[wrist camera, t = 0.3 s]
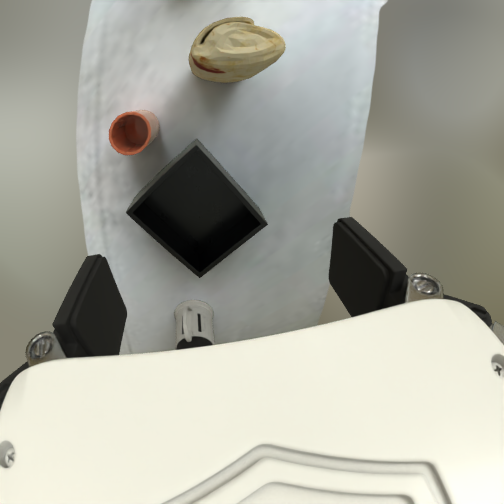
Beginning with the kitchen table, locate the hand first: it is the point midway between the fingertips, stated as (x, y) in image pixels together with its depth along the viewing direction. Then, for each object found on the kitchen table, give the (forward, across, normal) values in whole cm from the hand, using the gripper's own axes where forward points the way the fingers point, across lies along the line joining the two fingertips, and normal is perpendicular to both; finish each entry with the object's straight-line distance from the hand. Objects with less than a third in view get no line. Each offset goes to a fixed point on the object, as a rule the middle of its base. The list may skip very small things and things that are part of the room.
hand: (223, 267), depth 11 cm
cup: (+36, +10, -4) cm, 38 cm away
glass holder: (+37, +8, +33) cm, 50 cm away
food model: (+36, -4, -12) cm, 39 cm away
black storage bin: (+36, +2, +10) cm, 38 cm away
